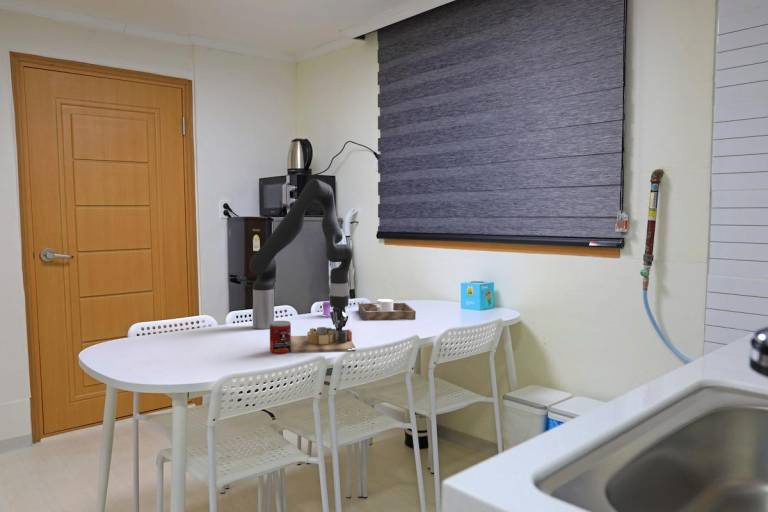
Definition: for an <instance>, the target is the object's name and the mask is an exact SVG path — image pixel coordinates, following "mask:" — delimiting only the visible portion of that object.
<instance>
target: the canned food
mask: <svg viewBox="0 0 768 512" xmlns="http://www.w3.org/2000/svg"><path fill="white" fill-rule="evenodd" d="M291 324H292V323H291V322H290V321H288V320H274V321H273V322H271V323H270V328H269V351H270V353H271V354H274V355H284V354H289V353H291V336H292V333H291V331H292V330H291V326H292V325H291Z"/></svg>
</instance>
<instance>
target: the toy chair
mask: <svg viewBox="0 0 768 512" xmlns="http://www.w3.org/2000/svg"><path fill="white" fill-rule="evenodd" d="M322 302H323V303H322V309H323V311H322V316H323V315H328V314H330V312H331V306H330V300H327V301H322ZM328 316H329V315H328Z"/></svg>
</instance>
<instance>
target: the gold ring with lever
mask: <svg viewBox="0 0 768 512" xmlns="http://www.w3.org/2000/svg"><path fill="white" fill-rule="evenodd" d="M326 328H327V334H324V335H318V332H317V328H315V327H312V328H309V331H307V334H306V336H307V341H308V343H310V344H316V345H317V344H319V345H325V344H332V343H335V342H336V341H340V332H345V341H351V340H352V341H353V330H352V329H342V330H336V328H333V327H326Z"/></svg>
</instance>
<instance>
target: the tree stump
mask: <svg viewBox="0 0 768 512" xmlns="http://www.w3.org/2000/svg"><path fill="white" fill-rule="evenodd" d="M376 301H377V302H376V303H377V304H373V305H377V306H376V307H377V311H376V312H381V311H393V303H394V300H393V299H388V298H383V299H377V300H376Z"/></svg>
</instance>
